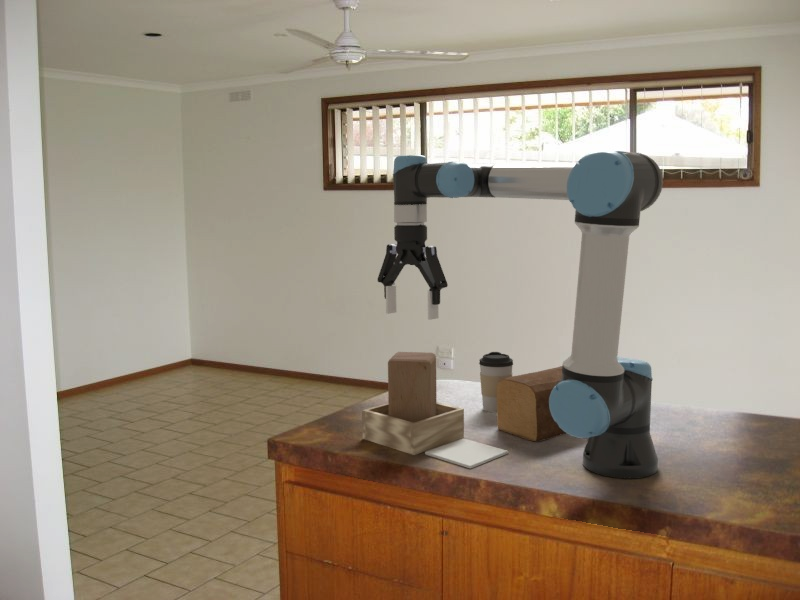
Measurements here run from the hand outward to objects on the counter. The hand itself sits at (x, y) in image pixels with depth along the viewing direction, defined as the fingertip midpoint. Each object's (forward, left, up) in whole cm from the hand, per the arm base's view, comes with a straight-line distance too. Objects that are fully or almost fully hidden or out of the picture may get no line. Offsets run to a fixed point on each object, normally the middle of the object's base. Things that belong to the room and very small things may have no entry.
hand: (411, 315), depth 176 cm
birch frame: (0, 0, -29) cm, 29 cm away
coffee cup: (+1, -33, -30) cm, 44 cm away
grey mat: (-17, 0, -29) cm, 34 cm away
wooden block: (0, 0, -30) cm, 30 cm away
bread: (-19, -34, -30) cm, 49 cm away
